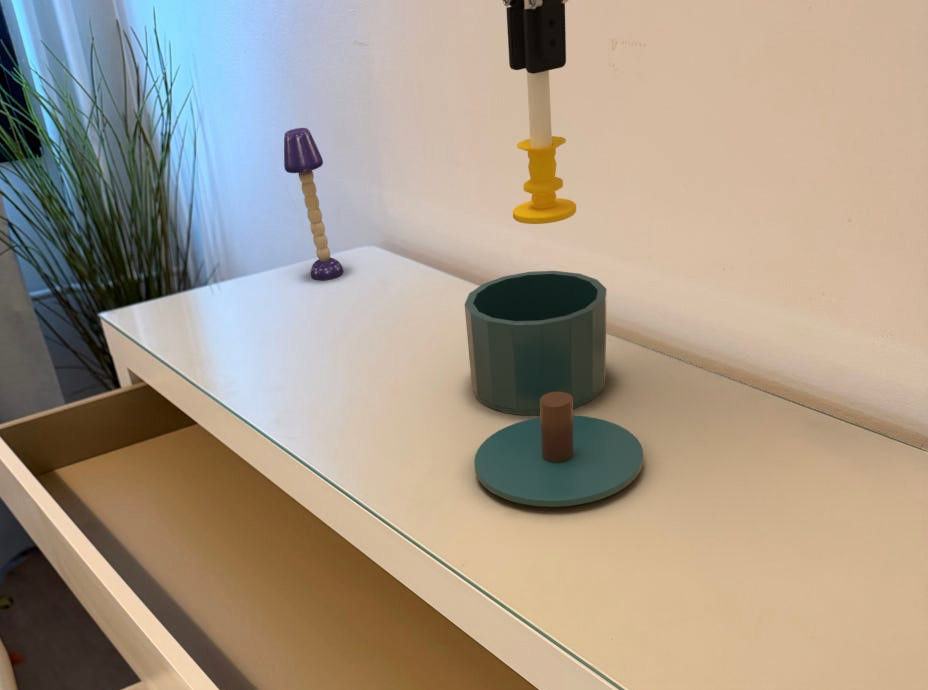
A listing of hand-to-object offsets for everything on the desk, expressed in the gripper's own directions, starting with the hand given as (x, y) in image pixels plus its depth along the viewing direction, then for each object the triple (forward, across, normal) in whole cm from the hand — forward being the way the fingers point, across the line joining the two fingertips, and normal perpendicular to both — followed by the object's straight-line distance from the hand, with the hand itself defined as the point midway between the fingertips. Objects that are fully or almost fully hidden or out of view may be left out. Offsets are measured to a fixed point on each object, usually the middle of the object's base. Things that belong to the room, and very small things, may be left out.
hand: (537, 66), depth 70 cm
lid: (+26, -12, +6) cm, 29 cm away
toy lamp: (+27, +47, +4) cm, 54 cm away
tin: (+27, +3, 0) cm, 27 cm away
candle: (+11, 0, 0) cm, 11 cm away
